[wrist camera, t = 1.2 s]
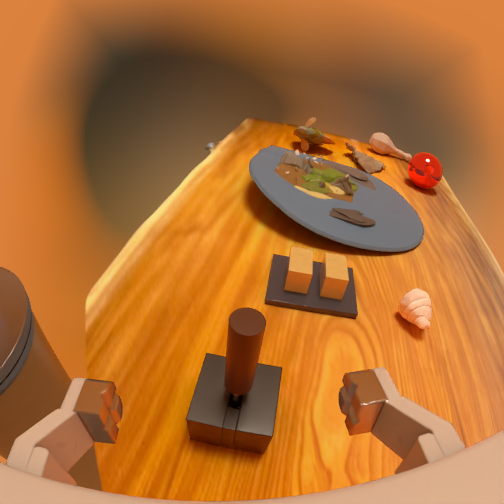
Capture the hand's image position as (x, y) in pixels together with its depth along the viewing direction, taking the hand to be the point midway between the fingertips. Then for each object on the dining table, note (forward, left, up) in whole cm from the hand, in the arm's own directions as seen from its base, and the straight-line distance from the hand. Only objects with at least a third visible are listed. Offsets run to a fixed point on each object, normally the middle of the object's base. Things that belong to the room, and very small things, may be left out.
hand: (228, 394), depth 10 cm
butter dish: (+8, +34, -24) cm, 42 cm away
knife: (0, +10, -24) cm, 26 cm away
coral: (+26, +100, -24) cm, 106 cm away
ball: (+45, +91, -24) cm, 104 cm away
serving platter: (+14, +66, -24) cm, 71 cm away
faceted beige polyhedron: (+40, +118, -24) cm, 126 cm away
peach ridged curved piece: (+25, +29, -24) cm, 45 cm away
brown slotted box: (0, +10, -24) cm, 26 cm away
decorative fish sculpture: (+8, +104, -24) cm, 107 cm away
